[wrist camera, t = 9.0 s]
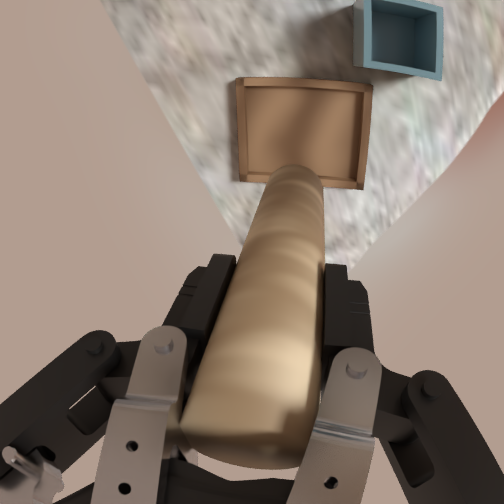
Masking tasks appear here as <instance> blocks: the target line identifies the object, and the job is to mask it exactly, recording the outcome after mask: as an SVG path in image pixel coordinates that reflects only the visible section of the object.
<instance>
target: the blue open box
mask: <svg viewBox="0 0 504 504" xmlns="http://www.w3.org/2000/svg"><path fill="white" fill-rule="evenodd" d="M442 65H443V7H439V6H436V5H432V4H428V3H424V2H420V1H416V0H356V1H355V3H354V4H353V66H359V67H366V68H374V69H381V70H387V71H393V72H399V73H405V74H410V75H415V76H420V77H424V78H429V79H433V80H438V81H442Z"/></svg>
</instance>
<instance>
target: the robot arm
mask: <svg viewBox="0 0 504 504" xmlns="http://www.w3.org/2000/svg"><path fill="white" fill-rule="evenodd" d="M235 267H236V257H235V256H234V255H225V254H213V256H212V258H211V260H210V262H209V264H208V266H207V267H200V266H198V267H197V268H196V269H195V270H193V271H192V272H191V273H190V274H189V275H188V276H187V278H186V280H185V282H184V284H183V287H182V288H181V290H180V291H179V295H178V296H177V297H176V299H175V301H174V303H173V305H172V307H171V309H170V311H169V313H168V315H167V317H166V318H165V320H164V322H163V324H162V326H159V327H156V328H154V329H152V330H150V331H149V332H147V333H146V334H145V335H144V337H143V338H142V340H140V341H130V342H116V341H115V339H114V337H113V335H112V334H110V333H109V332H107V331H103V330H96V331H93V332H89V333H88V334H86V335H84V336H83V337H82V338H80V339H79V340H78V341H77V342H75V343H74V344H73V345H72V346H70V347H69V348H68V349H67V350H65V351H64V352H63V353H62V354H60V355H59V356H58V357H57V358H55V359H54V360H53V361H52V362H51V363H49V364H48V365H47V366H46V367H45V368H43V369H42V370H41V371H40V372H38V373H37V374H36V375H35V376H34V377H32V378H31V379H30V380H29V381H28V382H26V383H25V384H24V385H23V386H22V387H20V388H19V389H18V390H17V391H16V392H14V393H13V394H12V395H11V396H10V397H9V398H7V399H6V400H5V401H4V402H3V403H2V404H0V504H52V500H53V497H54V495H55V494H56V493H57V492H61V491H62V490H63V488H64V483H63V481H62V475H61V474H62V473H63V472H64V471H65V470H66V469H68V468H69V467H70V466H71V465H72V464H73V463H74V462H75V461H76V460H77V459H79V458H80V457H81V456H82V455H83V454H84V453H85V452H86V451H87V450H88V449H89V448H91V447H92V446H93V445H94V444H95V443H96V442H97V441H98V440H99V439H100V438H101V437H102V436H104V435H105V437H104V442H103V446H102V450H101V455H100V459H99V464H98V469H97V473H96V478H95V482H93V483H92V484H90V485H88V486H86V487H84V488H82V489H80V490H79V491H76V492H75V493H73V494H71V495H69V496H67V497H65V498H63V499H61V500H59V501H57V502H55V503H53V504H360V503H361V500H362V496H363V492H364V489H365V485H366V480H367V477H368V473H369V469H370V464H371V460H372V455H373V451H374V444H375V438H374V437H376V438H379V440H380V443H381V445H382V447H383V449H384V451H385V453H386V455H387V457H388V459H389V461H390V464H391V466H392V468H393V470H394V472H395V474H396V476H397V478H398V481H399V483H400V485H401V487H402V489H403V492H404V494H405V496H406V498H407V500H408V503H409V504H504V474H503V472H502V471H501V469H500V467H499V465H498V463H497V461H496V459H495V457H494V456H493V454H492V452H491V450H490V449H489V447H488V445H487V443H486V442H485V440H484V438H483V436H482V434H481V433H480V431H479V429H478V428H477V426H476V425H475V423H474V421H473V419H472V418H471V416H470V414H469V413H468V411H467V410H466V408H465V407H464V405H463V403H462V402H461V400H460V398H459V397H458V395H457V394H456V392H455V391H454V389H453V387H452V386H451V384H450V383H449V382H448V380H447V379H446V378H445V377H444V376H443V375H441V374H440V373H437V372H435V371H431V370H425V371H420V372H418V373H416V374H415V375H413V376H412V378H410V377H407V376H404V375H401V374H398V373H395V372H392V371H390V370H388V369H386V368H385V367H384V366H383V365H382V364H381V363H380V361H379V359H378V358H377V357H376V355H375V352H374V346H373V335H372V326H371V317H370V310H369V301H368V295H367V290H366V289H365V288H364V286H363V285H362V283H361V282H360V281H354V280H348V276H347V266H346V265H340V264H328V263H325V268H324V298H323V332H322V355H321V361H322V378H321V403H320V407H319V411H318V414H317V417H316V420H315V424H314V427H313V430H312V433H311V436H310V439H309V442H308V445H307V448H306V450H305V453H304V456H303V458H302V461H301V463H300V466H299V468H298V471H297V474H296V476H295V479H294V480H286V479H277V478H269V479H257V480H244V481H229V480H226V479H223V478H221V477H219V476H217V475H215V474H213V473H210V472H208V471H206V470H204V469H202V468H200V467H198V453H197V451H196V450H194V449H192V447H191V445H190V444H189V442H188V440H187V438H186V436H185V434H184V433H183V431H182V429H181V427H180V422H181V418H182V414H183V411H184V408H185V405H186V402H187V400H188V397H189V394H190V391H191V388H192V386H193V383H194V380H195V377H196V374H197V372H198V369H199V366H200V363H201V361H202V358H203V355H204V352H205V349H206V347H207V344H208V341H209V338H210V336H211V333H212V330H213V327H214V325H215V322H216V319H217V316H218V314H219V311H220V308H221V306H222V303H223V300H224V297H225V295H226V292H227V289H228V286H229V284H230V281H231V278H232V276H233V273H234V270H235ZM94 386H96V387H95V388H94V389H93V390H91V391H90V392H89V393H88V394H87V395H86V396H85V397H83V398H82V399H81V400H80V401H79V402H78V403H77V404H76V405H74V406H73V407H72V408H71V409H69V408H70V407H71V406H72V405H73V404H74V403H75V402H77V401H78V400H79V399H80V398H81V397H82V396H83V395H85V394H86V393H87V392H88V391H89V390H90V389H92V388H93V387H94ZM68 409H69V410H68Z"/></svg>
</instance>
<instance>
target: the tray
mask: <svg viewBox="0 0 504 504" xmlns="http://www.w3.org/2000/svg"><path fill="white" fill-rule="evenodd" d="M372 95H373V85H371V84H366V83H358V82H349V81H339V80H327V79H312V78H290V77H239V78H236V102H237V127H238V151H239V174H240V181H243V182H265V183H267V182H268V179H269V177H270V176H271V174H272V173H273V172H274V171H275V170H277V169H278V168H280V167H282V166H285V165H290V164H297V165H302V166H305V167H307V168H309V169H311V170H312V171H314V172H315V173H316V174H317V176H318V177H319V179H320V180H321V183H322V186H324V187H336V188H347V189H357V190H363V188H364V180H365V172H366V164H367V155H368V145H369V135H370V123H371V110H372Z"/></svg>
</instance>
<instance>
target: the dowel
mask: <svg viewBox="0 0 504 504" xmlns="http://www.w3.org/2000/svg"><path fill="white" fill-rule="evenodd" d="M324 268H325V236H324V198H323V186H322V183H321V180H320V179H319V177H318V176H317V174H316V173H315V172H314V171H312V170H311V169H309V168H307V167H305V166H302V165H297V164H290V165H285V166H282V167H280V168H278V169H277V170H275V171H274V172H273V173H272V174H271V176H270V177H269V179H268V182H267V184H266V187H265V190H264V192H263V195H262V198H261V200H260V203H259V206H258V208H257V211H256V214H255V216H254V219H253V222H252V224H251V227H250V230H249V232H248V235H247V238H246V240H245V243H244V246H243V248H242V252H241V254H240V257H239V259H238V262H237V265H236V267H235V270H234V273H233V276H232V278H231V281H230V284H229V286H228V289H227V292H226V295H225V297H224V300H223V303H222V306H221V308H220V311H219V314H218V316H217V319H216V322H215V325H214V327H213V330H212V333H211V336H210V338H209V341H208V344H207V347H206V349H205V352H204V355H203V358H202V361H201V363H200V366H199V369H198V372H197V374H196V377H195V380H194V383H193V386H192V388H191V391H190V394H189V397H188V400H187V402H186V405H185V408H184V411H183V414H182V418H181V422H180V427H181V429H182V431H183V433H184V434H185V436H186V438H187V440H188V442H189V444H190V445H191V447H192V449H194V450H196V451H198V452H199V453H201V454H203V455H206V456H208V457H210V458H213V459H216V460H219V461H222V462H225V463H229V464H233V465H237V466H242V467H247V468H255V469H270V470H273V469H275V470H276V469H289V468H295V467H299V466H300V463H301V461H302V458H303V456H304V453H305V450H306V448H307V445H308V442H309V439H310V436H311V433H312V430H313V427H314V424H315V420H316V417H317V414H318V411H319V407H320V393H321V378H322V361H321V355H322V332H323V298H324Z"/></svg>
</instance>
